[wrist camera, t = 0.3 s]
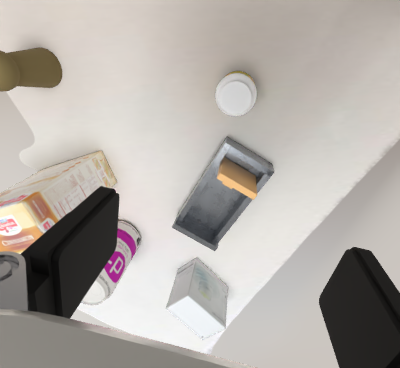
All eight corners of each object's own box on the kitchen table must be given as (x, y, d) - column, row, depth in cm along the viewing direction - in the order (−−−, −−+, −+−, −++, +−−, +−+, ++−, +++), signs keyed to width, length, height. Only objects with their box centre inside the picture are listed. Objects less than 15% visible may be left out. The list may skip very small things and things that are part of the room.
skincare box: (229, 285, 57) (226, 330, 48) (208, 297, 60) (201, 341, 51) (197, 256, 55) (187, 296, 46) (176, 269, 58) (163, 309, 48)
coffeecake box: (58, 199, 54) (-30, 265, 37) (39, 169, 52) (-64, 225, 34) (119, 183, 50) (52, 249, 33) (102, 149, 47) (20, 201, 30)
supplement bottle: (251, 66, 38) (253, 68, 29) (258, 103, 40) (261, 115, 31) (215, 76, 39) (207, 81, 30) (223, 111, 41) (218, 125, 33)
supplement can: (128, 213, 53) (89, 266, 40) (148, 244, 56) (118, 302, 42) (98, 225, 56) (51, 277, 42) (118, 253, 58) (81, 311, 45)
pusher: (223, 156, 44) (220, 173, 37) (255, 175, 44) (257, 194, 38) (211, 174, 45) (206, 193, 39) (242, 192, 46) (242, 213, 40)
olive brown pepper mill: (24, 45, 41) (-44, 41, 32) (59, 49, 41) (0, 46, 31) (31, 85, 44) (-29, 93, 34) (64, 89, 44) (12, 98, 34)
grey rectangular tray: (226, 136, 43) (224, 145, 38) (272, 164, 44) (275, 176, 39) (178, 212, 51) (172, 227, 46) (217, 234, 52) (214, 251, 47)
